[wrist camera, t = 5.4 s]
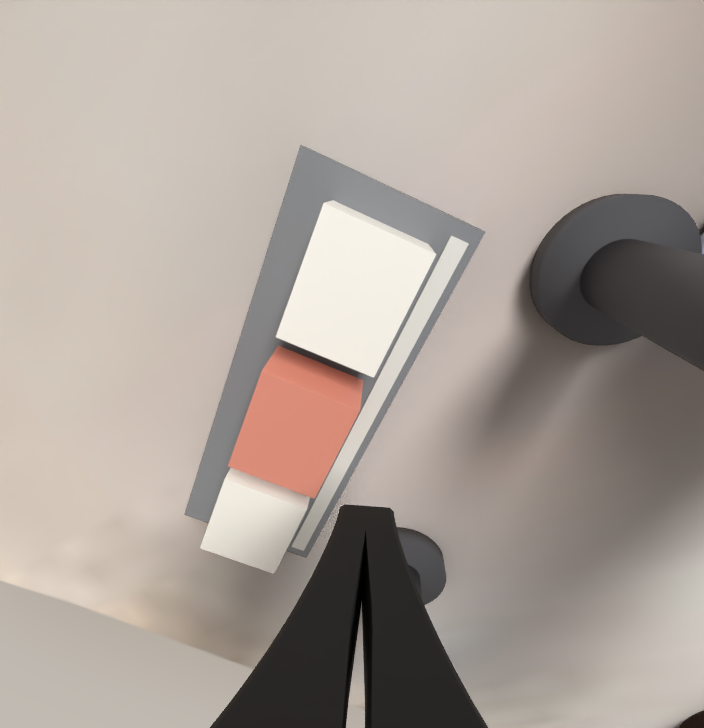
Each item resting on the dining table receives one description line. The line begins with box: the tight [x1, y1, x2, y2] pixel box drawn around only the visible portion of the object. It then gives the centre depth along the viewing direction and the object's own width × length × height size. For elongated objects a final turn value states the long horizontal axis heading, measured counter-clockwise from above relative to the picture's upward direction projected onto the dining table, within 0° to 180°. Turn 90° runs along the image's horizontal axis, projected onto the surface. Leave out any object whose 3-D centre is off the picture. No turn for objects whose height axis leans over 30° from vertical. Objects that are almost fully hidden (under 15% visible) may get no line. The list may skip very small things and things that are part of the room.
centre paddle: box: [228, 345, 363, 499], centre depth 13 cm, size 3×4×2 cm
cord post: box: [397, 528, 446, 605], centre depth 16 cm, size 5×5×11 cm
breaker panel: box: [184, 145, 485, 574], centre depth 15 cm, size 6×16×4 cm, turn 157°
